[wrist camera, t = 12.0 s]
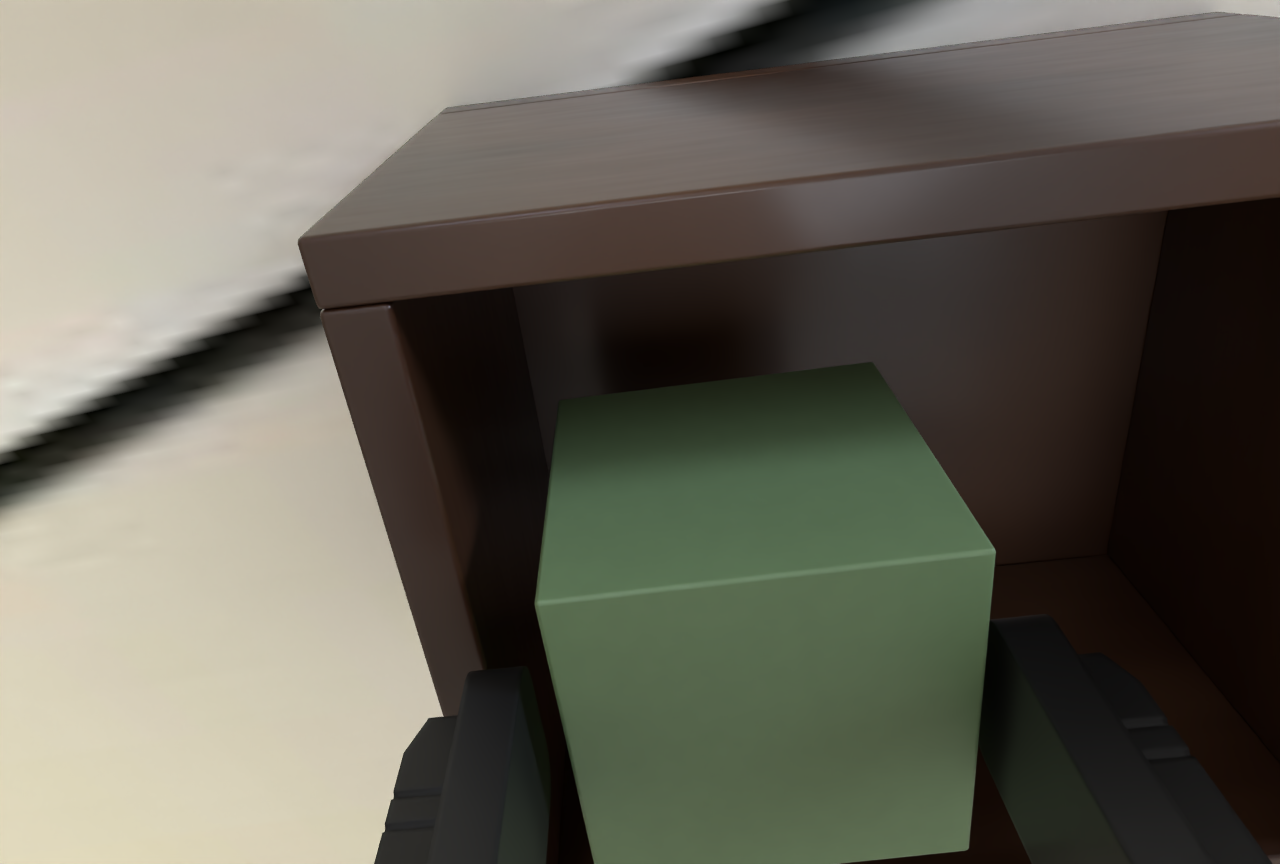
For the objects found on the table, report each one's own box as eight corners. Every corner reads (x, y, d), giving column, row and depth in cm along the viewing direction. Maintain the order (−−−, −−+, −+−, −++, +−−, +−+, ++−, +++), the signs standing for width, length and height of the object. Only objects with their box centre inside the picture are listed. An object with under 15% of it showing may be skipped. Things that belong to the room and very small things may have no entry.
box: (550, 615, 23) (516, 956, 15) (442, 107, 17) (293, 240, 9) (1117, 556, 22) (1385, 877, 14) (1219, 11, 16) (1774, 61, 8)
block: (557, 398, 14) (532, 603, 9) (873, 359, 14) (998, 550, 9) (602, 638, 16) (599, 890, 12) (872, 607, 16) (970, 852, 12)
